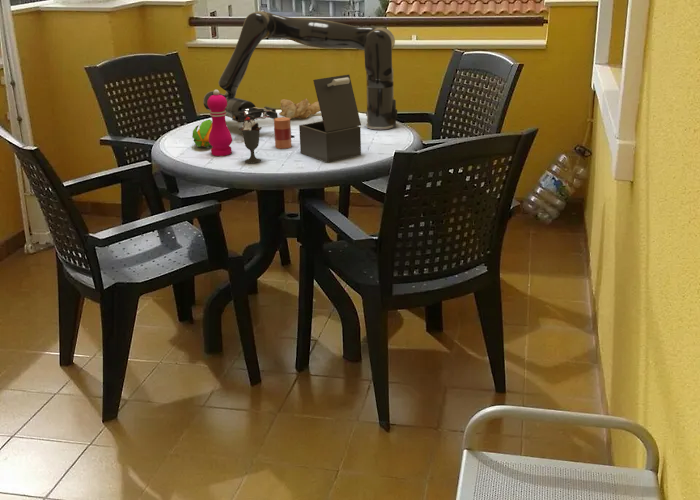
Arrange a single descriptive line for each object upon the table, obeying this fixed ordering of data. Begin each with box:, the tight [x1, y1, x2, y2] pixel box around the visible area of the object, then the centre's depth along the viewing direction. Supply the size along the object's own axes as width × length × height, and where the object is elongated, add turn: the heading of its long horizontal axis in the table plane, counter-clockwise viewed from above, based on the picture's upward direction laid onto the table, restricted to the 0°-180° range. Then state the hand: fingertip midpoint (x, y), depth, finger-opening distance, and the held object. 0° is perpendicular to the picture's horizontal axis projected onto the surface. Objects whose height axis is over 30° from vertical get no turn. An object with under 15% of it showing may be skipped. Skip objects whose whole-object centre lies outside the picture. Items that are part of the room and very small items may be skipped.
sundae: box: [238, 112, 263, 164], centre depth 242 cm, size 7×7×15 cm
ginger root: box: [278, 98, 321, 120], centre depth 299 cm, size 16×16×8 cm
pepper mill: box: [207, 89, 233, 157], centre depth 250 cm, size 7×7×20 cm
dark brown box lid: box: [313, 74, 362, 132], centre depth 239 cm, size 16×13×6 cm
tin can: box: [273, 116, 293, 150], centre depth 258 cm, size 5×5×9 cm
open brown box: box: [298, 120, 362, 163], centre depth 249 cm, size 15×13×9 cm
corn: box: [191, 119, 212, 148], centre depth 265 cm, size 7×8×20 cm
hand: (265, 118), depth 265 cm, fingers open, 8 cm apart
